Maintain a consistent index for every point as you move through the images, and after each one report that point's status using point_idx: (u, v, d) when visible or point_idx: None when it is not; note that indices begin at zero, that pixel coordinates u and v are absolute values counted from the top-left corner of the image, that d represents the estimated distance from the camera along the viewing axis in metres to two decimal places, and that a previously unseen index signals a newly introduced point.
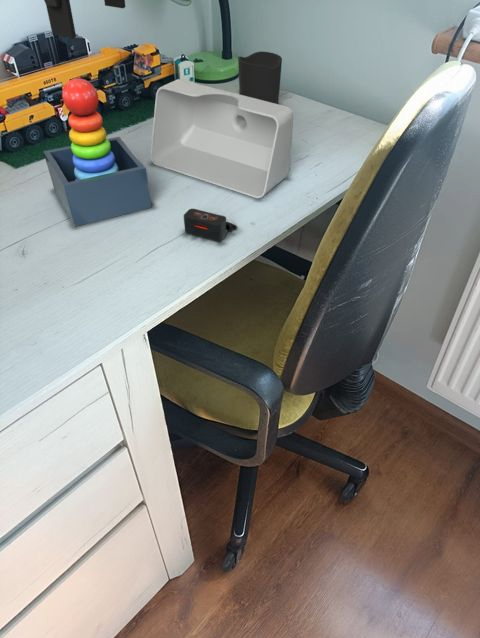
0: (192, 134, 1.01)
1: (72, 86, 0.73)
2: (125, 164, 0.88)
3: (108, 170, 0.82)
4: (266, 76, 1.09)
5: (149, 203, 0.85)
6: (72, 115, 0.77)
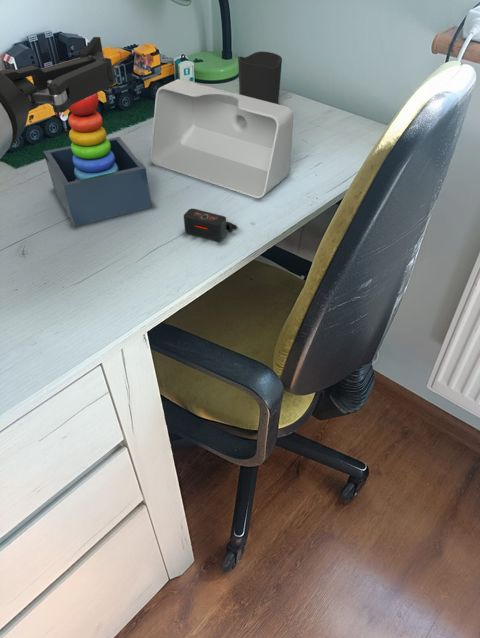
0: (192, 134, 1.01)
1: None
2: (125, 164, 0.88)
3: (108, 170, 0.82)
4: (266, 76, 1.09)
5: (149, 203, 0.85)
6: (72, 115, 0.77)
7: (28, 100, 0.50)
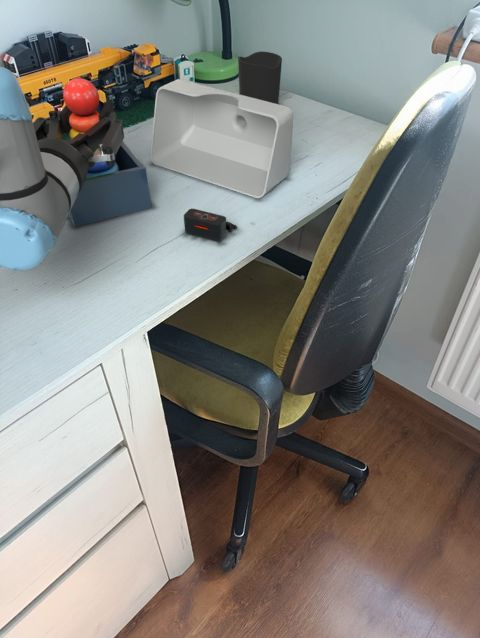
0: (192, 134, 1.01)
1: (73, 86, 0.73)
2: (125, 164, 0.88)
3: (108, 170, 0.82)
4: (266, 76, 1.09)
5: (149, 203, 0.85)
6: (73, 115, 0.77)
7: (88, 163, 0.68)
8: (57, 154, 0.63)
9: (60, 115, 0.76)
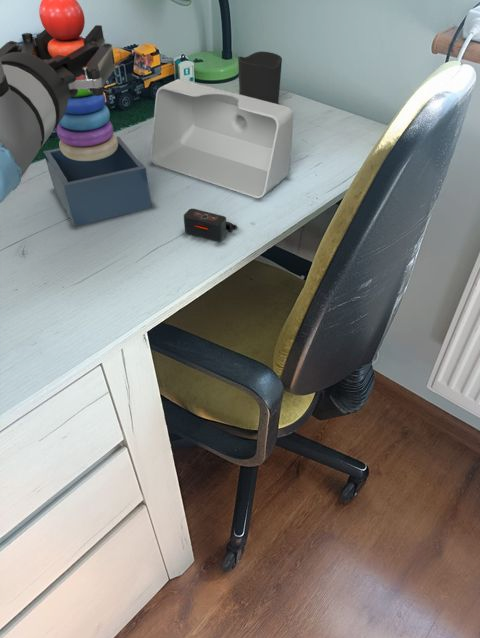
0: (192, 134, 1.01)
1: (51, 0, 0.59)
2: (125, 164, 0.88)
3: (97, 112, 0.68)
4: (266, 76, 1.09)
5: (149, 203, 0.85)
6: (52, 40, 0.63)
7: (68, 88, 0.54)
8: (27, 69, 0.49)
9: (36, 39, 0.62)
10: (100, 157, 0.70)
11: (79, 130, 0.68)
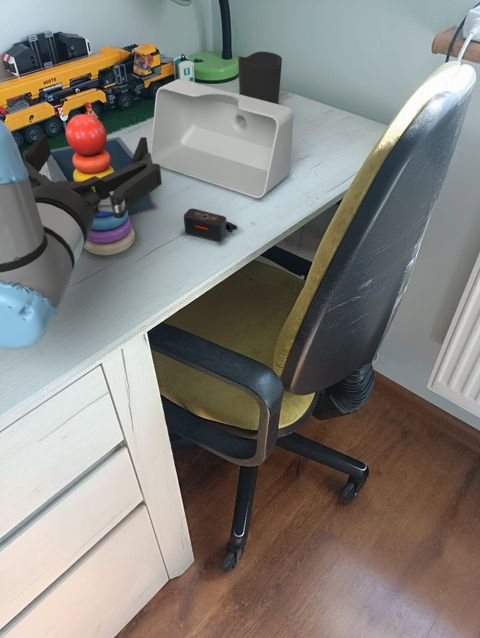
0: (192, 134, 1.01)
1: (77, 124, 0.64)
2: (125, 164, 0.88)
3: None
4: (266, 76, 1.09)
5: (149, 203, 0.85)
6: (77, 154, 0.68)
7: (93, 210, 0.59)
8: (59, 204, 0.54)
9: (26, 156, 0.65)
10: (119, 251, 0.76)
11: (100, 230, 0.73)
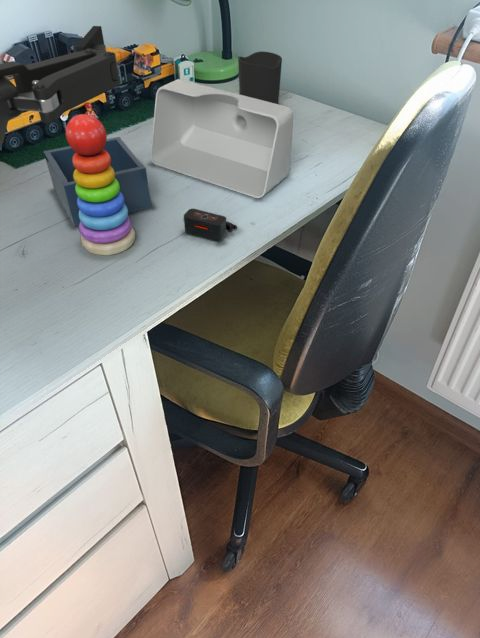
0: (192, 134, 1.01)
1: (77, 124, 0.64)
2: (125, 164, 0.88)
3: (117, 213, 0.73)
4: (266, 76, 1.09)
5: (149, 203, 0.85)
6: (77, 154, 0.68)
7: (7, 106, 0.38)
8: None
9: None
10: (119, 251, 0.76)
11: (100, 230, 0.73)
